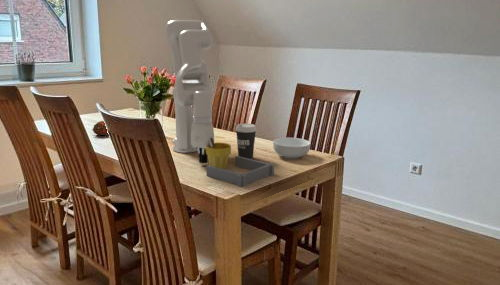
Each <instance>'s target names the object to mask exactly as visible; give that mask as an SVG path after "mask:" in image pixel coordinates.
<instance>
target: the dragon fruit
mask: <svg viewBox="0 0 500 285" xmlns="http://www.w3.org/2000/svg"><path fill="white" fill-rule="evenodd" d="M105 123H106V122H105ZM105 123H104V120H100V121H98V122H96V123H95V124H94V125H93V127H92V129H91V131H92V132H93V133H94V134H95V135H96V134H97V135H96V136H99V135H104V136H105V135H106V134H107V135H109V134H108V133H107V129H106V126H105Z"/></svg>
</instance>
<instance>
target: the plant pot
mask: <svg viewBox="0 0 500 285" xmlns="http://www.w3.org/2000/svg"><path fill="white" fill-rule="evenodd" d="M231 153H232V146H231V144H229V143H226V142H214V146H213V148H209V147H207V146H206V154H207V160H208V163H209V165H211V166H214V167H218V168H222V169H225V170H227V165H228V161H229V157H230V156H231Z"/></svg>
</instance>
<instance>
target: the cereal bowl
mask: <svg viewBox="0 0 500 285" xmlns="http://www.w3.org/2000/svg"><path fill="white" fill-rule="evenodd" d="M272 145H273V146H272V147H273V150H274V151H275V153H276V154H277V155H279V156H282V157H283V158H285V159H289V160H290V159H291V160H295V159H299V158H301V157H304V156H306V155H307V154H308V153H309V152H310V151H311V150H310V149H311V142H310V141H309V140H307V139H303V138H298V137H278V138H276V139H274V140H273V142H272Z"/></svg>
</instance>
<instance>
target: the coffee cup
mask: <svg viewBox="0 0 500 285" xmlns="http://www.w3.org/2000/svg"><path fill="white" fill-rule="evenodd" d="M235 131H236V145H237V156H240V157H244V158H248V159H252V160H254V152H255V151H254V150H255V142H256V134H257V133H256V132H258V130H257V127H256V125H255V124H253V123H238V124H237V125H236V127H235Z"/></svg>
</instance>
